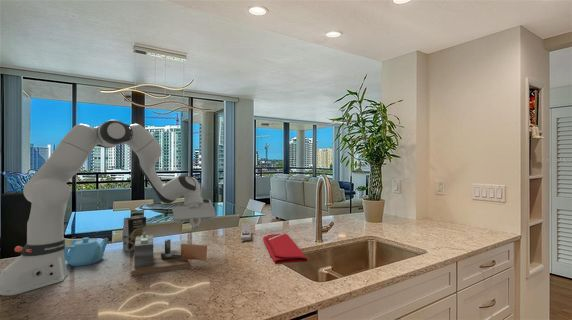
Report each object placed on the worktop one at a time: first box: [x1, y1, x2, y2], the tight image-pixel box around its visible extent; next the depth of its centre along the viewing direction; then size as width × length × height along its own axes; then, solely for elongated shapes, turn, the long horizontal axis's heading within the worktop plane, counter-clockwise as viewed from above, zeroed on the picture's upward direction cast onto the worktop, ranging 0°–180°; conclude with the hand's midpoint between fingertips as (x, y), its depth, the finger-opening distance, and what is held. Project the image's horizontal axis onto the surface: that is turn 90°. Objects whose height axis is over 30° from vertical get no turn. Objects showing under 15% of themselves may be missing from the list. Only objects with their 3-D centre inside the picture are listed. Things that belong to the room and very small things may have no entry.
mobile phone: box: [240, 222, 252, 243], centre depth 180 cm, size 6×6×25 cm
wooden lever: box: [160, 239, 208, 262], centre depth 133 cm, size 7×22×8 cm, turn 77°
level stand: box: [130, 231, 190, 277], centre depth 132 cm, size 22×22×14 cm
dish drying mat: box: [262, 233, 308, 265], centre depth 154 cm, size 16×41×4 cm, turn 12°
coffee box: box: [122, 215, 147, 252], centre depth 155 cm, size 9×6×16 cm
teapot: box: [64, 236, 109, 267], centre depth 134 cm, size 15×15×11 cm
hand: (195, 227), depth 144 cm, fingers closed
